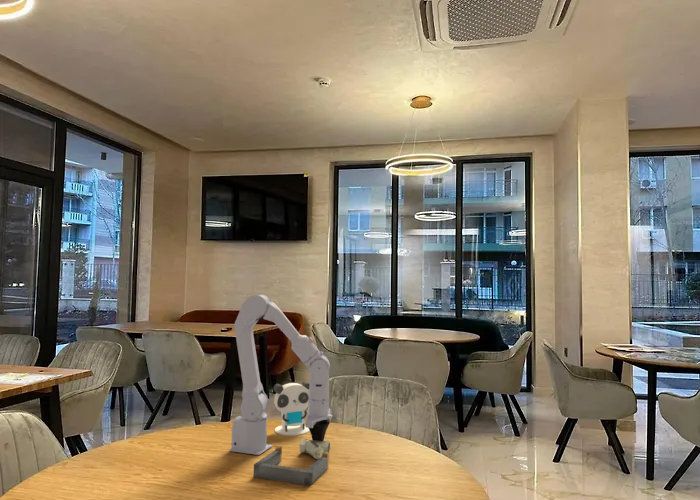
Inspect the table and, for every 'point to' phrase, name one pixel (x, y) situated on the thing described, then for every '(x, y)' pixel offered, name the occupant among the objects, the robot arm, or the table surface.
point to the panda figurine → (292, 407)
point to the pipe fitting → (314, 447)
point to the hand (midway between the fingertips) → (318, 447)
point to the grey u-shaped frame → (289, 469)
